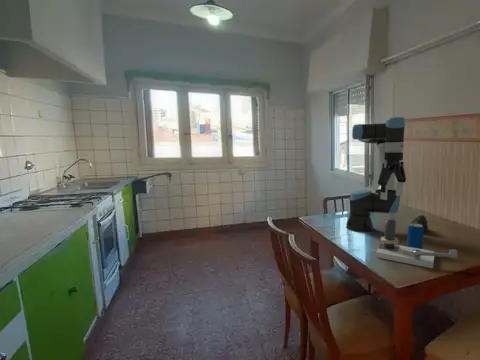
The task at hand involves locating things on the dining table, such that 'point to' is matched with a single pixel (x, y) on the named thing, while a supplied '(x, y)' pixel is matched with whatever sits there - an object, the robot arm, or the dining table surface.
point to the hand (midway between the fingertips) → (391, 197)
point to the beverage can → (415, 236)
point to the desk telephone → (405, 255)
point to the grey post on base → (389, 234)
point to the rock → (421, 222)
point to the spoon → (451, 253)
